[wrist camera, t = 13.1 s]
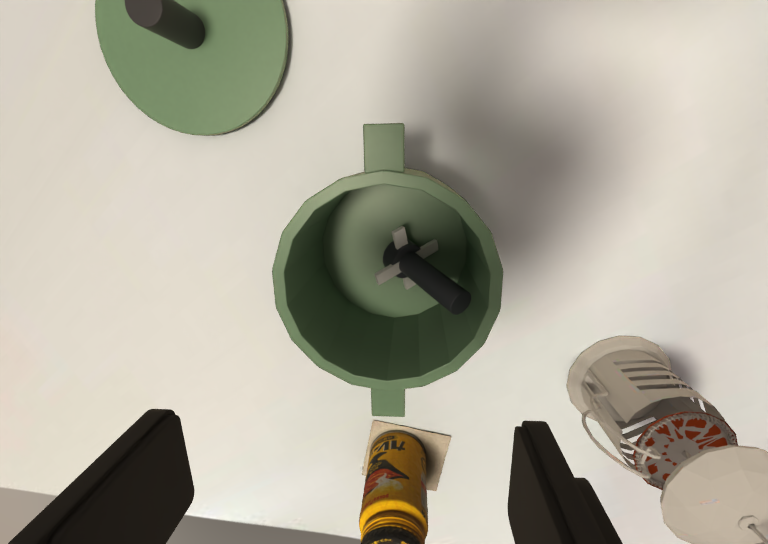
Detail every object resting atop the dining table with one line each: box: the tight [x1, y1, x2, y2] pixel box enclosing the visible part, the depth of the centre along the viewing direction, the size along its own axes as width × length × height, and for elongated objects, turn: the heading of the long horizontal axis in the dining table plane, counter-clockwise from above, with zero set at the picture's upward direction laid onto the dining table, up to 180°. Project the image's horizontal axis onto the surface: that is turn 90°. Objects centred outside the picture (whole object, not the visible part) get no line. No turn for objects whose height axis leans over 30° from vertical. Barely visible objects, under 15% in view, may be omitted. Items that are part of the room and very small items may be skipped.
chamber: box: [272, 123, 503, 417], centre depth 30 cm, size 15×20×12 cm
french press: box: [567, 336, 768, 544], centre depth 26 cm, size 10×12×25 cm
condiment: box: [359, 421, 451, 544], centre depth 36 cm, size 7×8×12 cm
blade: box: [374, 226, 471, 315], centre depth 31 cm, size 6×6×8 cm
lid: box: [95, 0, 288, 136], centre depth 28 cm, size 16×16×7 cm
